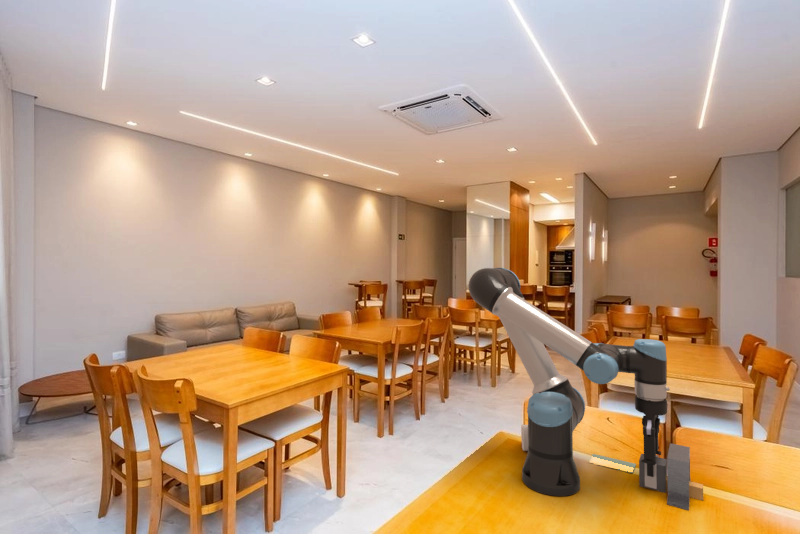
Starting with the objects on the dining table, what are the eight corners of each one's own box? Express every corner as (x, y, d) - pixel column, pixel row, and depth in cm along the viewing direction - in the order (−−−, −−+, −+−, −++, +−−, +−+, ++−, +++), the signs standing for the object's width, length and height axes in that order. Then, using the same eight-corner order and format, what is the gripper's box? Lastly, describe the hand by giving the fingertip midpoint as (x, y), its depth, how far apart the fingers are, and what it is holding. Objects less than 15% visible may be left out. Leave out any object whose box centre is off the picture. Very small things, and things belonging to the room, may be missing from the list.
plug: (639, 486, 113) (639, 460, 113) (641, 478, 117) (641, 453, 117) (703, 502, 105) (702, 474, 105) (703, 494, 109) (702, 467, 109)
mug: (556, 457, 131) (556, 432, 131) (523, 454, 133) (523, 429, 133) (550, 441, 142) (550, 418, 142) (520, 439, 144) (520, 416, 144)
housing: (667, 504, 104) (666, 462, 104) (671, 476, 118) (670, 439, 118) (688, 510, 101) (688, 467, 101) (690, 481, 115) (690, 443, 115)
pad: (588, 463, 127) (588, 462, 127) (592, 454, 132) (592, 453, 132) (632, 474, 119) (632, 473, 119) (636, 464, 125) (636, 463, 125)
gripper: (664, 408, 104) (665, 502, 104) (669, 391, 119) (670, 473, 118) (630, 403, 108) (631, 492, 108) (639, 387, 123) (640, 465, 123)
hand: (651, 482), depth 113 cm, fingers closed on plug, 5 cm apart
